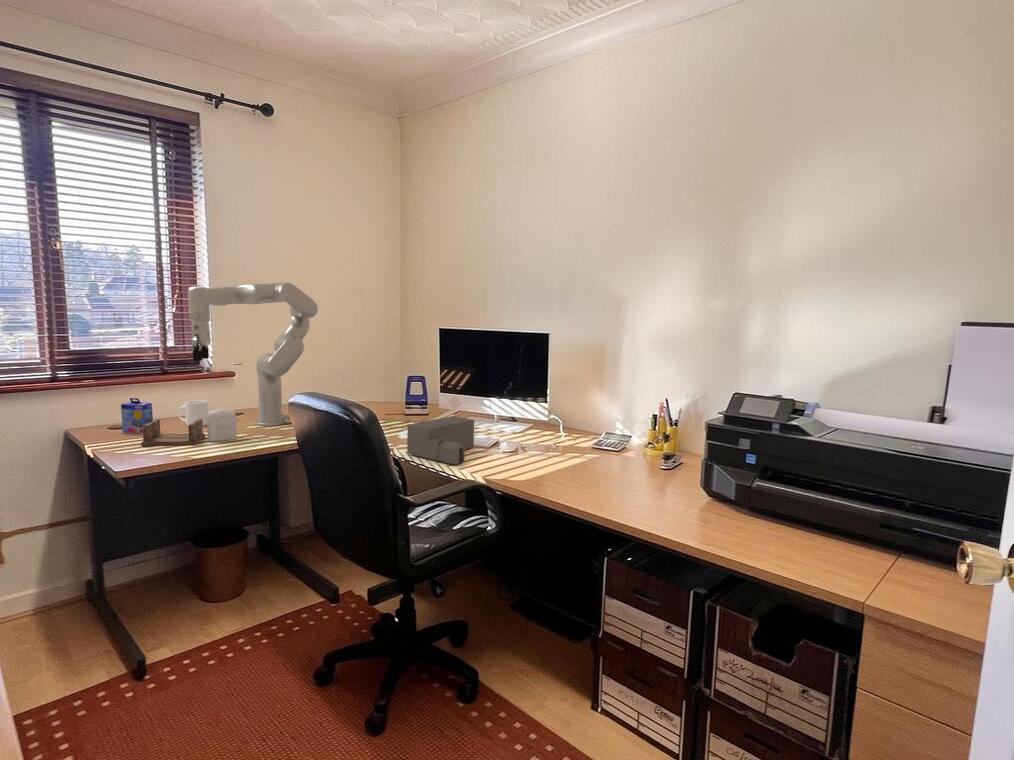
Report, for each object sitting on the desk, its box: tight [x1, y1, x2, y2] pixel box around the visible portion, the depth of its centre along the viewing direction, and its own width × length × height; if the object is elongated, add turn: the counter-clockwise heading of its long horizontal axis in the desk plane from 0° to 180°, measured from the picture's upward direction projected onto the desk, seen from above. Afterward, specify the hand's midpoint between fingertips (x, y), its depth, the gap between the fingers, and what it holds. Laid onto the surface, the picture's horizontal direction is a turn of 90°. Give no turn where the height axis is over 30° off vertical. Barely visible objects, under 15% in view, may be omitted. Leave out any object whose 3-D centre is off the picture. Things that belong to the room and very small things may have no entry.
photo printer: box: [206, 408, 237, 443], centre depth 224 cm, size 10×4×12 cm, turn 125°
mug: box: [177, 399, 209, 427], centre depth 249 cm, size 9×12×11 cm
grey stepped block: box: [406, 415, 475, 465], centre depth 215 cm, size 25×23×11 cm
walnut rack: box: [140, 418, 206, 447], centre depth 220 cm, size 14×18×8 cm
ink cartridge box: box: [120, 397, 154, 434], centre depth 233 cm, size 10×6×14 cm, turn 87°
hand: (201, 359), depth 235 cm, fingers open, 9 cm apart
